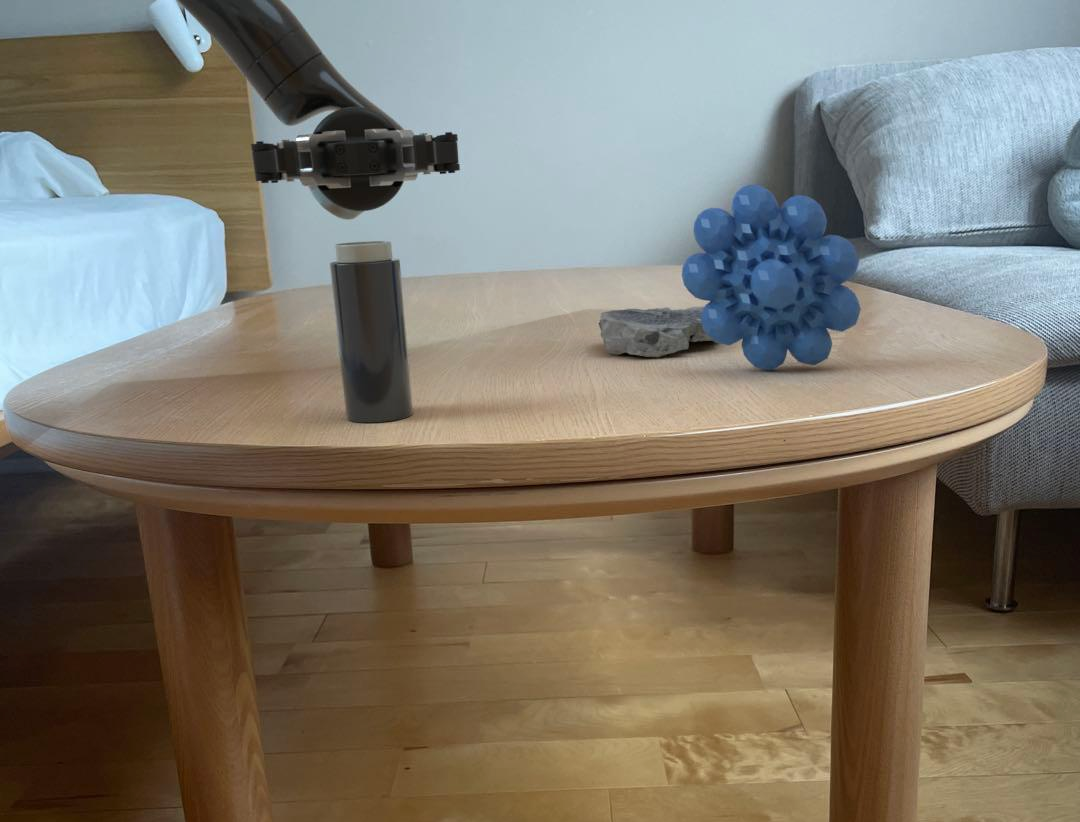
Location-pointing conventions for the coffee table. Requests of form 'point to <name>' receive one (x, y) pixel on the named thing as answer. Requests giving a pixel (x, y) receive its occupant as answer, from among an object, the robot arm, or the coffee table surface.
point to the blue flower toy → (772, 278)
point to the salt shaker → (371, 332)
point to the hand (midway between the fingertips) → (356, 155)
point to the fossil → (651, 330)
